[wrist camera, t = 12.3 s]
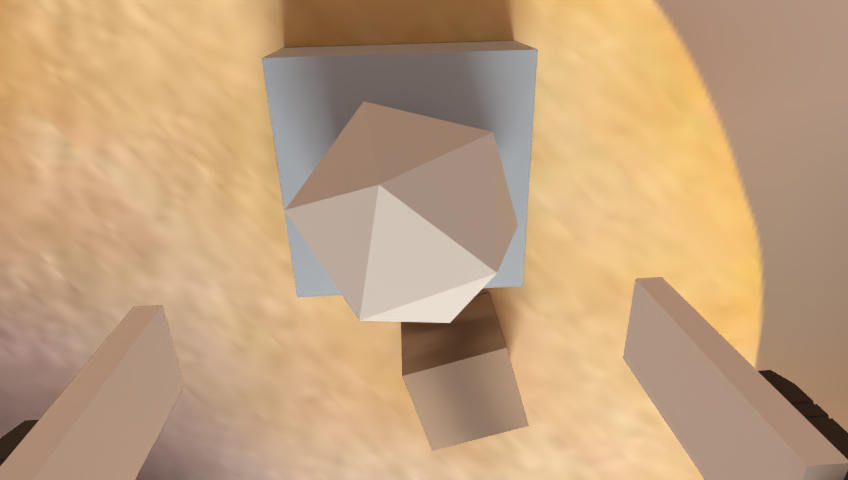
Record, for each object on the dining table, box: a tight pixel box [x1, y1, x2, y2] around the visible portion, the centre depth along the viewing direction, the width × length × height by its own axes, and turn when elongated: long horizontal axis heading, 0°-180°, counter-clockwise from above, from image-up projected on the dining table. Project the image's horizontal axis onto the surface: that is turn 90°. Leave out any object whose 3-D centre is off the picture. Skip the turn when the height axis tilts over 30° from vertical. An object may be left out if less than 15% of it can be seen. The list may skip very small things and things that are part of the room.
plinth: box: [262, 41, 538, 297], centre depth 28 cm, size 12×12×5 cm
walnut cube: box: [401, 292, 529, 451], centre depth 33 cm, size 6×6×6 cm
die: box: [285, 102, 518, 323], centre depth 22 cm, size 8×9×10 cm
